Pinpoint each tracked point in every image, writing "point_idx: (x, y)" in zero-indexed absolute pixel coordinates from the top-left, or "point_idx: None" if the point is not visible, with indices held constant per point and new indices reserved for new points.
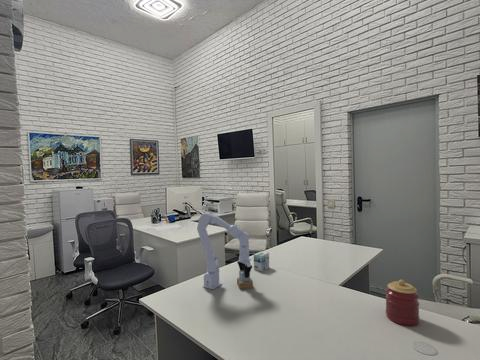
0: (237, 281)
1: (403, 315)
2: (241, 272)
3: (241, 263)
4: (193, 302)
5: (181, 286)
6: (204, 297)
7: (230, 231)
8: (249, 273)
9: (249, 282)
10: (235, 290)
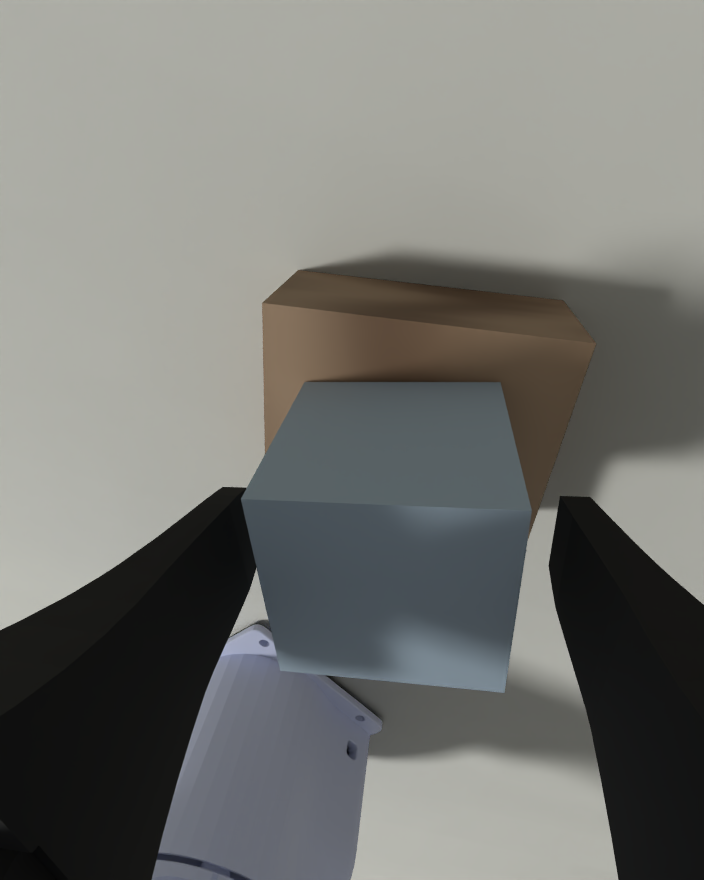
0: None
1: None
2: (427, 675)
3: (123, 807)
4: (564, 856)
5: None
6: (516, 797)
7: None
8: (663, 573)
9: (569, 417)
10: None
